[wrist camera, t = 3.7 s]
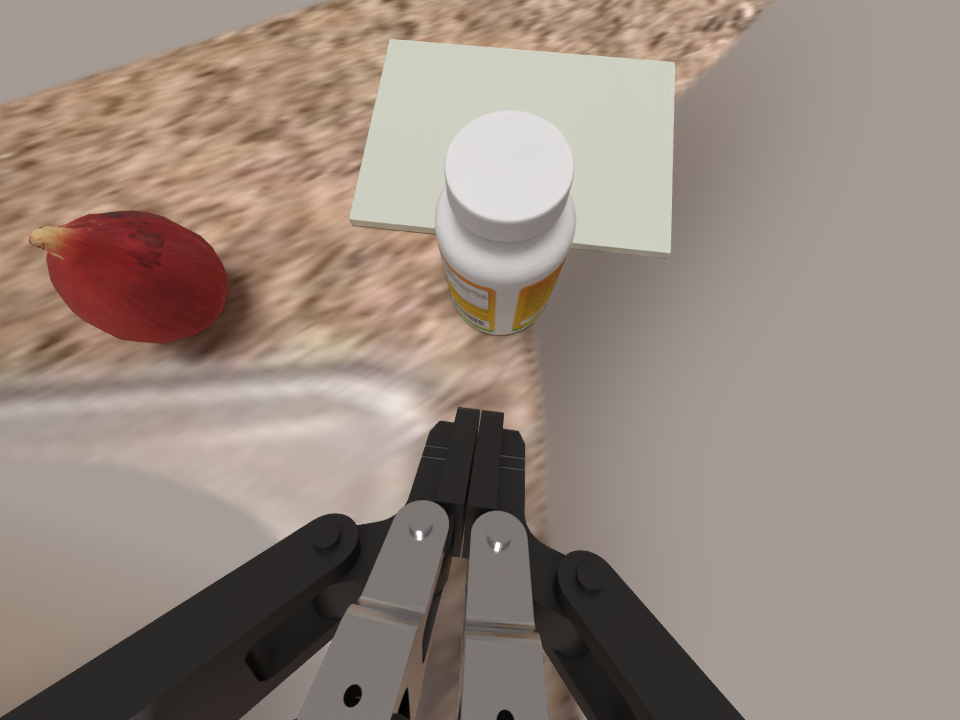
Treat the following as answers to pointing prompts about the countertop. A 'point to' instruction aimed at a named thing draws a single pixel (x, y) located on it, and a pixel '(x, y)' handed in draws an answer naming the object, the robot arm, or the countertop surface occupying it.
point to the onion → (135, 275)
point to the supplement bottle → (505, 218)
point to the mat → (537, 90)
